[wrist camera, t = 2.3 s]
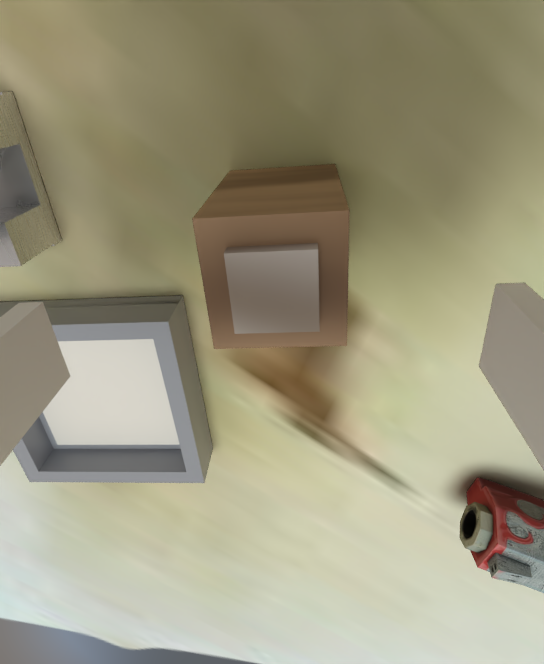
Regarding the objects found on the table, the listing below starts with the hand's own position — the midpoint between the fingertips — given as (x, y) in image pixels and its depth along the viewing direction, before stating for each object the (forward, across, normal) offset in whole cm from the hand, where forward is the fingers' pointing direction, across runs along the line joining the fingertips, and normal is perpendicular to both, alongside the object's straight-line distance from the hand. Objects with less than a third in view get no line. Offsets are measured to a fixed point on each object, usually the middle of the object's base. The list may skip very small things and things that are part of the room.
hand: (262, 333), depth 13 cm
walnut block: (+11, 0, 0) cm, 11 cm away
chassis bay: (+11, -12, -10) cm, 19 cm away
